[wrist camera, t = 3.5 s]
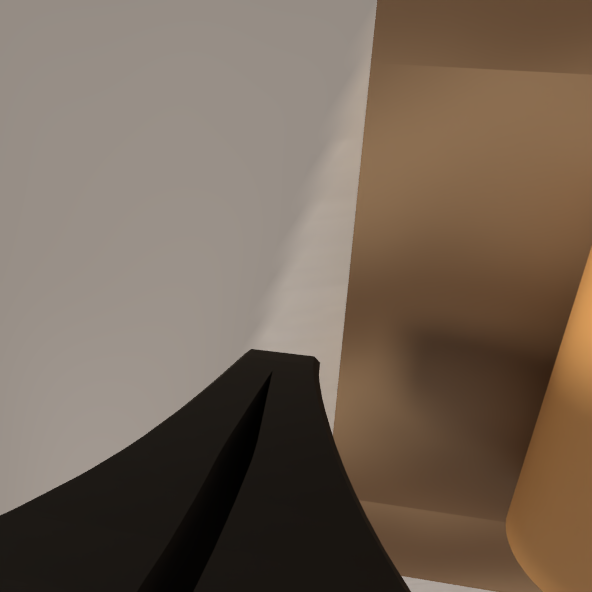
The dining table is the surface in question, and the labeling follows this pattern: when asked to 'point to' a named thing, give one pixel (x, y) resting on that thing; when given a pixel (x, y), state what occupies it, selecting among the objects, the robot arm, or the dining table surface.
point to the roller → (560, 466)
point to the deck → (462, 270)
